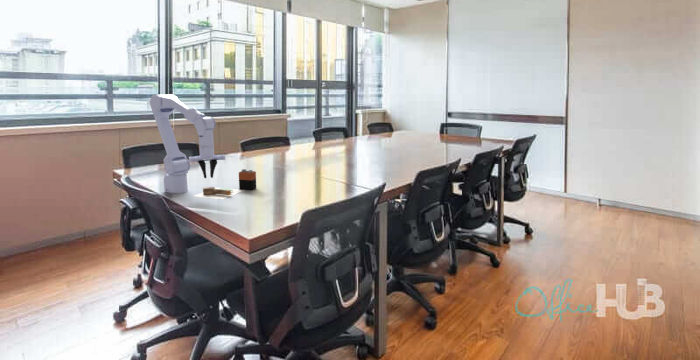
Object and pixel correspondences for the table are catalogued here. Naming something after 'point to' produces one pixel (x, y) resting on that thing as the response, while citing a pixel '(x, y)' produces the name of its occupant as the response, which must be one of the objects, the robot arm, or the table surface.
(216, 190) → the dial
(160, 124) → the robot arm
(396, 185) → the table surface
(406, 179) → the table surface
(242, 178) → the battery
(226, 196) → the board
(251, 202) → the table surface
